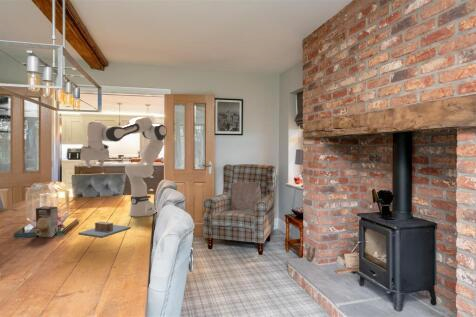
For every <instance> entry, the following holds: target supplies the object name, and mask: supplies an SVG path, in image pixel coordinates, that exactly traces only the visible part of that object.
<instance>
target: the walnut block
mask: <svg viewBox="0 0 476 317" xmlns="http://www.w3.org/2000/svg"><path fill="white" fill-rule="evenodd" d="M113 225H114V222H111V221H110V222H108V221H96V222H94V228H95V230H103V231H110V230H113Z"/></svg>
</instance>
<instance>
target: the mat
mask: <svg viewBox="0 0 476 317" xmlns="http://www.w3.org/2000/svg"><path fill="white" fill-rule="evenodd" d="M129 229H131V226H126V225H119V224H113V230H110V231H103V230H95V227H94V228H90V229H87V230H84V231H81V232H78V235H83V236H88V237H94V238H95V237H97V238H105V237H108V236H112V235H115V234H117V233H121V232H123V231H126V230H129Z"/></svg>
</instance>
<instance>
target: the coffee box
mask: <svg viewBox="0 0 476 317" xmlns="http://www.w3.org/2000/svg"><path fill="white" fill-rule="evenodd" d="M58 209H59V208H58V206H41V207H37V208H35V235H36V234H37V235H38V236H39V237H40V238H52V237H54V235H55V233H56V232H57V231H58V232H59V230H58V229H59V228H58V227H59V226H58V224H59V223H58V221H59V220H58V219H59V217H58V216H59V215H58V214H59V213H58V211H59V210H58ZM55 236H56V235H55ZM39 237H38V238H39Z"/></svg>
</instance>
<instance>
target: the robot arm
mask: <svg viewBox="0 0 476 317" xmlns="http://www.w3.org/2000/svg"><path fill="white" fill-rule="evenodd" d="M86 130H87V131H86V132H87V135H86V136H87V145H83V146H81V148H80V155H79V156H80V159H79V160H80V161H84V162H85V164H86V167H87V168H88V169H89V168H91V169H92V164H91V163H90V162H91V161H100V164H99V166H98V167H99V168H103V167H104V163H105V161H109V159H110V151H109V145H108V144H105V143H103V142H120V141H121V140H122V139H123V138H124V137H126V136H129V135H131V134H132V135H133V134H140V133H141V134H142V136H143V137H144V139H147V140H149V143H147V145H146V146H145V148H144V149H143V150H142V152H141V155H140V157H141V159H140V161H138V162H134V161H133V162H130V163H127V164H126V165H125V166H124V173H125V175H127V177H128V180H129V183H130V191H131V194H130V195H131V196H130V202H131V203H130V208H129V213H128V214H129V216H130V217H149V216H152V215H154V214H156V210H157V209H156V206H155V204H154V203H153V202H152V201H151V200H149V199H151V198H152V197H151V195H148V186H147V183H146V182H145V180H144V179H146V178H148V177H151V176H153V173H154V171H155V170H154V163H155V161H156V159H157V158H158V156H159V155H160V153H161V152H162V150H163V147H164V142H163V140H165V138H166V136H167V132H168V130H167V127H166V126H165V124H161V123H158V124H153V121H152V119H151V118H150V117H148V116H140V117H135V118H132V119H130V120H128V121H127V123H126V125H124V126H118V125H117V126H116V125H114V126H107V125H105V124H103V123H102V122H101V121H98V120H97V121H90V122H89V123H88V124H87V129H86Z"/></svg>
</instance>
